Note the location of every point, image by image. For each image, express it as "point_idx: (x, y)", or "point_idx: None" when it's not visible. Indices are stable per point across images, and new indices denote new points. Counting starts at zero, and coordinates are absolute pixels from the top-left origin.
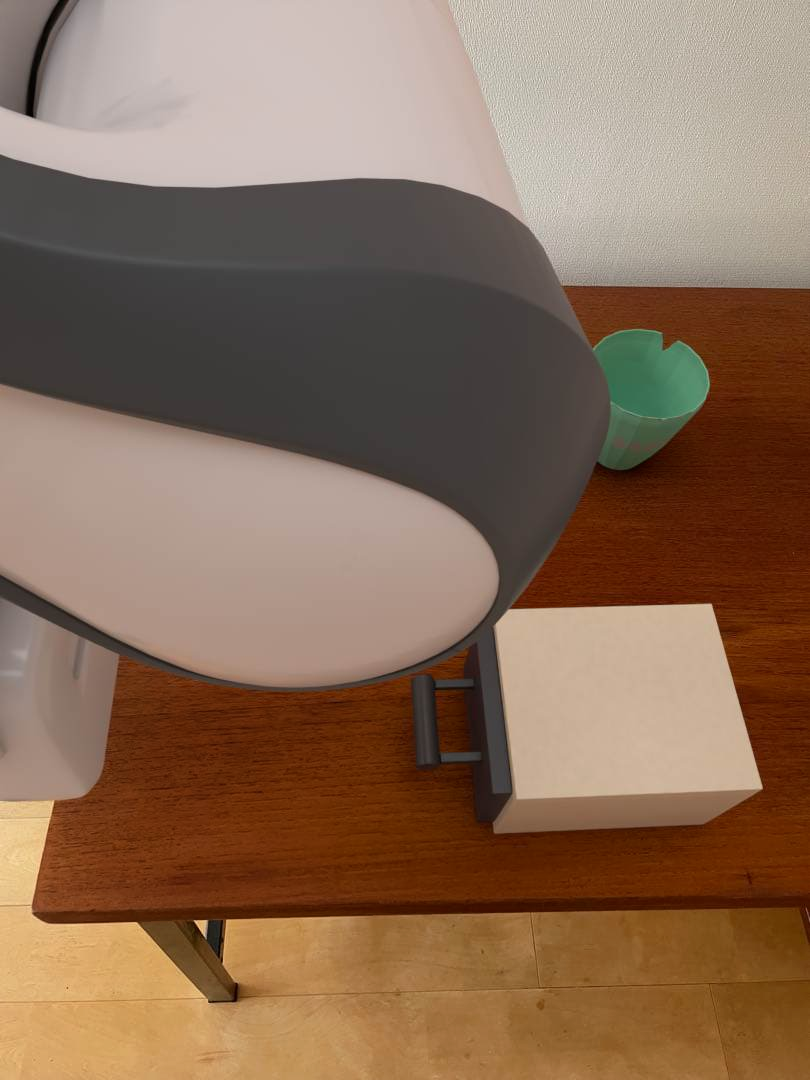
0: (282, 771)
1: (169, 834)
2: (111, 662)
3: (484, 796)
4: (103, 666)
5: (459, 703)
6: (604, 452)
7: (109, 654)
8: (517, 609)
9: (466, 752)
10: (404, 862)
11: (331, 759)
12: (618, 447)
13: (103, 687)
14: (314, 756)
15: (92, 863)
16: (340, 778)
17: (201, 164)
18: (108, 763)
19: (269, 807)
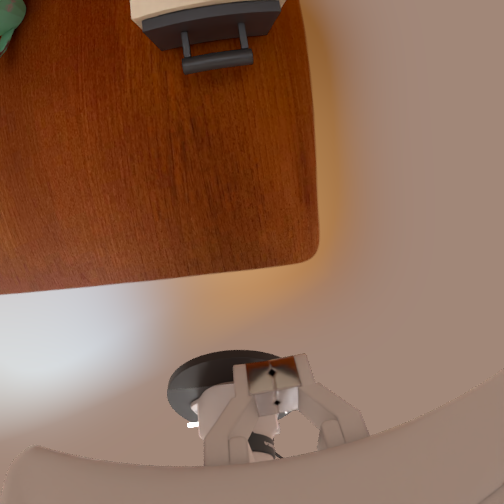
0: (242, 153)
1: (284, 211)
2: (471, 424)
3: (266, 23)
4: (489, 434)
5: None
6: (14, 17)
7: (472, 435)
8: (130, 4)
9: (239, 32)
10: (291, 76)
11: (232, 124)
12: (12, 8)
13: (498, 418)
14: (231, 135)
15: (300, 245)
16: (243, 117)
17: None
18: (248, 252)
19: (265, 157)
